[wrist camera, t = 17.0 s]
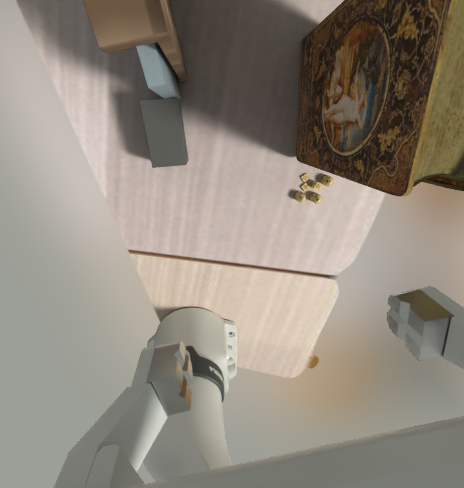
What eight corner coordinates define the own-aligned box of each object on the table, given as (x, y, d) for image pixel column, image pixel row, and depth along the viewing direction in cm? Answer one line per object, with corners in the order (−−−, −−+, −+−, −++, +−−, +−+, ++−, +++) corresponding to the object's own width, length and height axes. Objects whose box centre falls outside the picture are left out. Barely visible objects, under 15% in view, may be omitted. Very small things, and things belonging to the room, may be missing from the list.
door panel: (180, 99, 36) (165, 83, 23) (169, 102, 36) (148, 87, 23) (152, -14, 31) (112, -113, 18) (139, -10, 31) (90, -108, 18)
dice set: (329, 176, 43) (335, 178, 41) (317, 204, 45) (322, 208, 43) (302, 168, 42) (306, 169, 40) (291, 197, 44) (294, 200, 42)
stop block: (188, 160, 40) (185, 164, 35) (159, 163, 39) (152, 167, 35) (180, 101, 36) (176, 98, 32) (148, 104, 36) (139, 100, 32)
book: (301, 31, 34) (488, -163, 11) (341, 29, 34) (602, -163, 12) (295, 160, 41) (404, 201, 18) (329, 158, 41) (477, 195, 18)
